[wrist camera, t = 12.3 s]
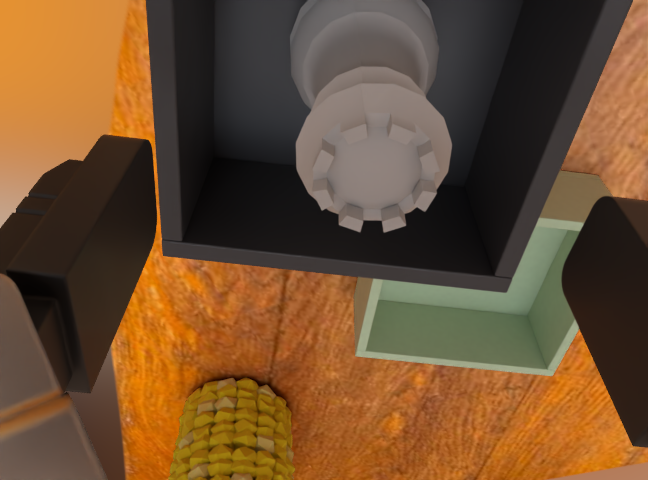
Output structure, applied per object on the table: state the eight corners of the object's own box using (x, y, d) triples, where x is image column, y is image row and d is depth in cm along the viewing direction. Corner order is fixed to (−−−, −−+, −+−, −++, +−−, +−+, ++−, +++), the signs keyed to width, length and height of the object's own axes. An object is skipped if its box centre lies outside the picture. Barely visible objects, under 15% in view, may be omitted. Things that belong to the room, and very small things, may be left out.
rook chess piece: (274, -16, 16) (232, 94, 10) (428, -48, 16) (489, 48, 9) (307, 124, 19) (290, 281, 13) (440, 100, 18) (493, 254, 12)
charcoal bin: (196, -185, 15) (132, -183, 10) (578, -127, 15) (678, -101, 11) (200, 160, 21) (162, 257, 16) (472, 192, 21) (507, 294, 17)
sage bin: (384, 148, 34) (391, 200, 29) (598, 174, 34) (636, 228, 30) (353, 297, 41) (355, 356, 36) (530, 316, 42) (552, 376, 37)
